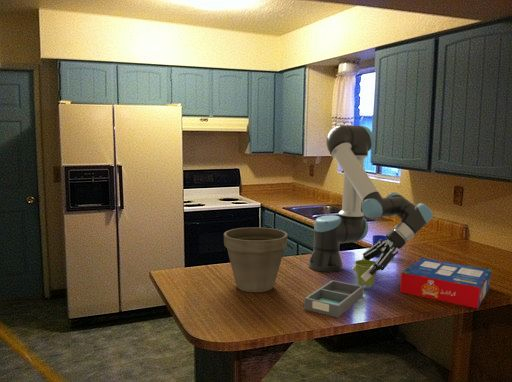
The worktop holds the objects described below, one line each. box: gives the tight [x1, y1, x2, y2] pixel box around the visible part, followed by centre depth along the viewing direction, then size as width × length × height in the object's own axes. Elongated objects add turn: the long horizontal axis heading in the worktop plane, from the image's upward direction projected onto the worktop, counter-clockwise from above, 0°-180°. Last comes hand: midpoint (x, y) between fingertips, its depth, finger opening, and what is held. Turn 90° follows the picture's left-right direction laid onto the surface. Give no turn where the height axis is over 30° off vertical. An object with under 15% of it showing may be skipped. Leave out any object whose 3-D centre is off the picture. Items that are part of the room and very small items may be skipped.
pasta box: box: [399, 257, 492, 309], centre depth 185 cm, size 28×8×28 cm
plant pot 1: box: [223, 227, 288, 293], centre depth 183 cm, size 25×25×22 cm
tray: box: [303, 280, 364, 318], centre depth 168 cm, size 13×25×4 cm, turn 148°
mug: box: [372, 234, 387, 258], centre depth 234 cm, size 8×12×10 cm
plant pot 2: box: [354, 259, 377, 288], centre depth 184 cm, size 9×9×9 cm
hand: (358, 274), depth 183 cm, fingers closed on plant pot 2, 9 cm apart
